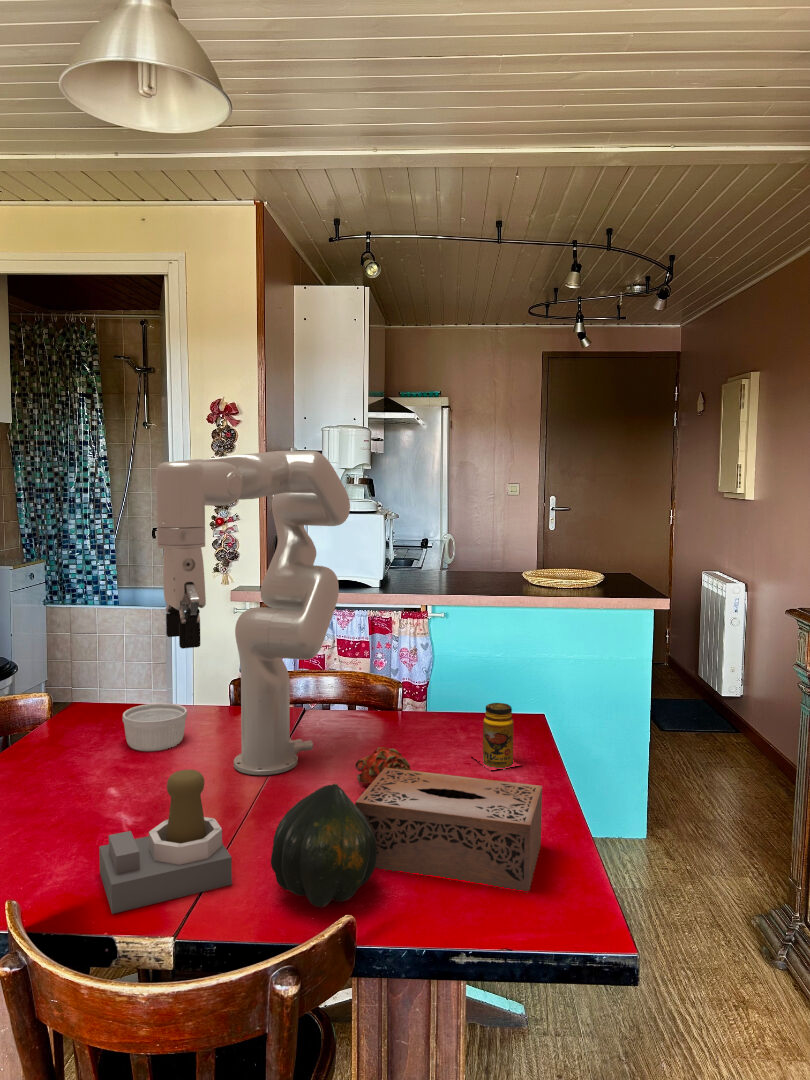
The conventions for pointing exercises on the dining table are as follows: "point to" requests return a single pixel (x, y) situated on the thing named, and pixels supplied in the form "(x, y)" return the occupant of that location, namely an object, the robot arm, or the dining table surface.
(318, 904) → the squash
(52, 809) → the dining table surface
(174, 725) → the ramekin
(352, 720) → the dining table surface
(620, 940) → the dining table surface
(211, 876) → the mount
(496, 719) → the condiment
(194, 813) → the brown pawn shaped peg
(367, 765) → the dragon fruit
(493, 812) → the tissue box cover
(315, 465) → the robot arm
